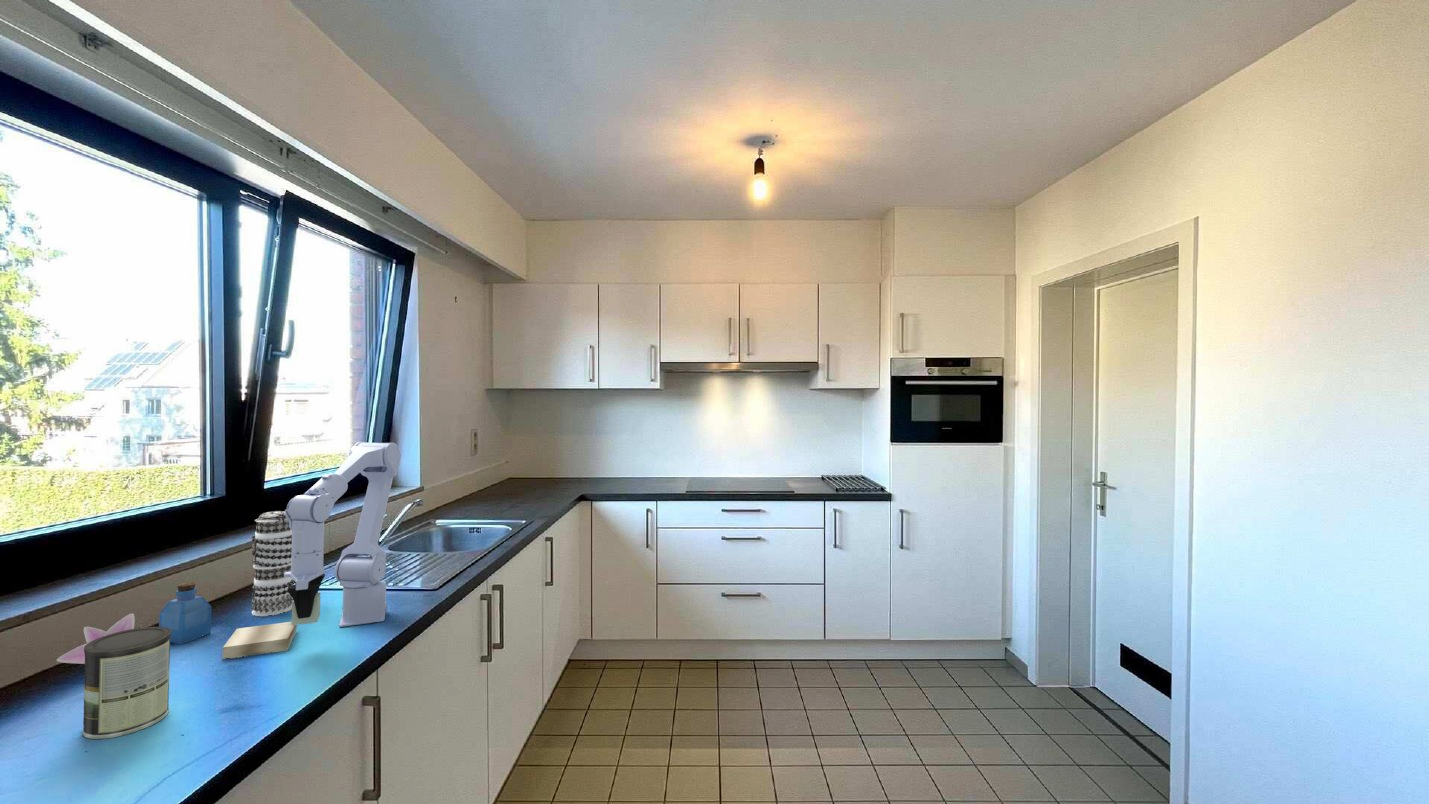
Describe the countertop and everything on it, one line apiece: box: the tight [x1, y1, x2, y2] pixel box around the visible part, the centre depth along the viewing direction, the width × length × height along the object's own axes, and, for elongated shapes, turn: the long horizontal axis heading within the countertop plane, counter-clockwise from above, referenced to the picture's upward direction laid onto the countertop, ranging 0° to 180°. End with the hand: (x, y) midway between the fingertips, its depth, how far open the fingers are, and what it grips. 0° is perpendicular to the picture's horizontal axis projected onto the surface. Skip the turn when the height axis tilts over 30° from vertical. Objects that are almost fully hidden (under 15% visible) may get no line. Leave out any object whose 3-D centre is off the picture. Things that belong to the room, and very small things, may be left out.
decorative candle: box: [251, 510, 295, 617], centre depth 148 cm, size 9×9×25 cm
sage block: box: [291, 592, 322, 626], centre depth 125 cm, size 4×4×5 cm
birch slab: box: [222, 621, 297, 660], centre depth 128 cm, size 11×11×3 cm
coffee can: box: [82, 626, 171, 740], centre depth 97 cm, size 10×10×14 cm
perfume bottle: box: [158, 581, 212, 645], centre depth 131 cm, size 6×6×12 cm
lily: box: [56, 612, 136, 665], centre depth 114 cm, size 12×12×10 cm
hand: (306, 613), depth 125 cm, fingers closed on sage block, 4 cm apart
